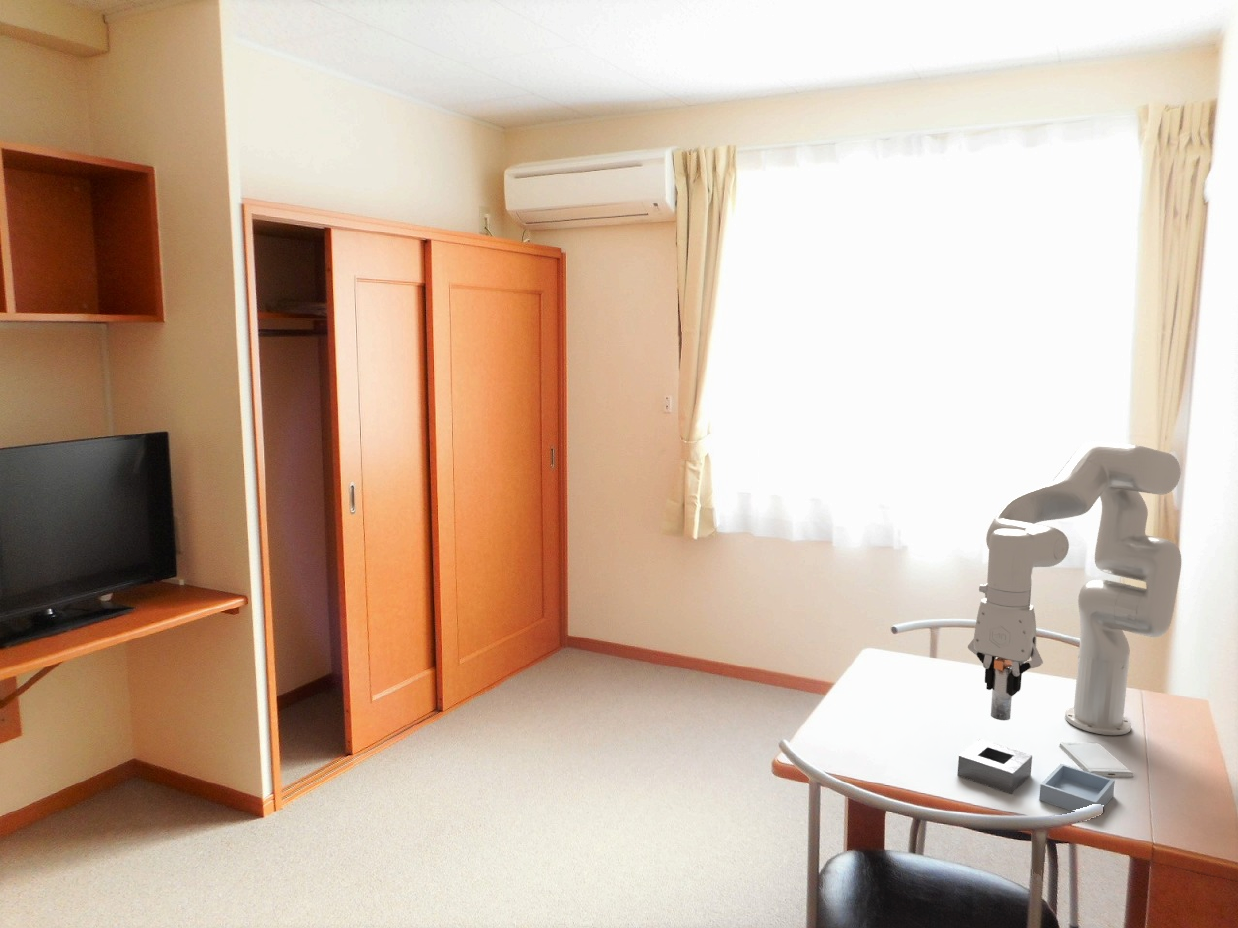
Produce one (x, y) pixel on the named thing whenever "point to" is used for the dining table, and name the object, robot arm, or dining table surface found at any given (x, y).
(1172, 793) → the dining table surface
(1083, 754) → the hard drive
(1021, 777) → the block
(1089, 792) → the tray
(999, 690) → the pin
